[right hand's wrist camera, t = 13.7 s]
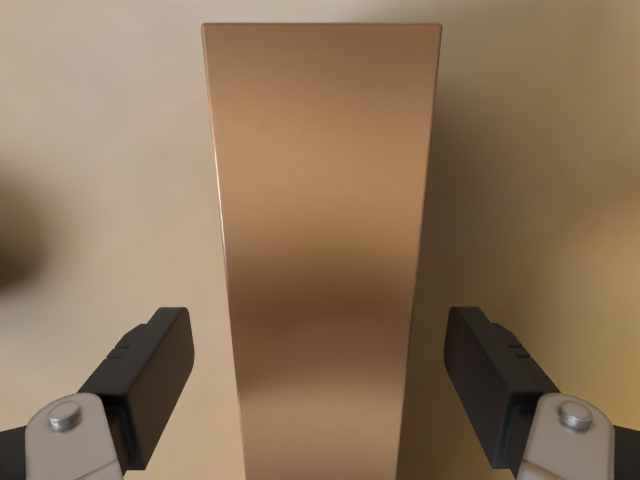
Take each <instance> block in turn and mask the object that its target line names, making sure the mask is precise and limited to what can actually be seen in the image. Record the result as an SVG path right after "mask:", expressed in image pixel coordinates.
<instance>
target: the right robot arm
mask: <svg viewBox="0 0 640 480" xmlns="http://www.w3.org/2000/svg"><path fill="white" fill-rule="evenodd" d="M444 362H445V367H446V370H447V372H448V375H449V377H450V379H451V381H452V383H453V385H454V387H455V390H456V392H457V394H458V396H459V398H460V400H461V402H462V405H463V407H464V409H465V411H466V413H467V415H468V417H469V420H470V422H471V424H472V426H473V428H474V430H475V432H476V435H477V437H478V439H479V441H480V443H481V445H482V447H483V450H484V452H485V454H486V456H487V458H488V460H489V462H490V465H491V467H492V469H511V471H512V473H513V475H514V477H515V479H516V480H640V431H636V430H632V429H628V428H624V427H619V426H615V425H613V424H612V423H611V421H610V420H609V419H608V417H607V416H606V415H605V414H604V413H603V412H602V411H600V410H599V409H598V408H597V407H595V406H594V405H592V404H590V403H589V402H587V401H585V400H583V399H580V398H578V397H575V396H572V395H568V394H564V393H561V392H560V391H559V390H558V388H557V387H556V386H555V385H554V383H553V382H552V381H551V380H550V379H549V377H548V376H547V375H546V374H545V372H544V371H543V370H542V369H541V368H540V366H539V365H538V364H537V363H536V361H535V360H534V359H533V358H531V355H530V354H529V353H528V352H527V351H526V349H525V348H523V347H522V344H521V343H520V342H519V341H518V340H517V338H516V337H515V336H514V335H513V333H511V332H510V331H508V330H507V329H505V328H504V327H502V326H501V325H499V324H498V323H490V321H489V320H488V319H487V317H486V316H485V315H484V313H483V312H482V311H481V309H480V308H479V307H451V309H450V311H449V316H448V323H447V330H446V337H445V344H444ZM193 364H194V344H193V337H192V330H191V324H190V317H189V312H188V309H187V308H186V307H161V308H159V309H158V310H157V311H156V312H155V314H154V315H153V316H152V318H151V319H150V320H149V321H148V323H147V324H140V325H138V326H137V327H135V328H134V329H132V330H131V331H129V332H128V333H126V334H125V335H124V336H123V337H122V339H121V340H120V341H119V342H118V343H117V345H116V346H115V349H112V351H111V352H110V353H109V354H108V356H107V359H104V360H103V362H102V363H101V364H100V365H99V366H98V368H97V369H96V370H95V371H94V372H93V374H92V375H91V376H90V377H89V378H88V380H87V381H86V382H85V383H84V384H83V386H82V387H81V388H80V389H79V391H78V392H77V393H76V394H72V395H68V396H65V397H62V398H60V399H57V400H55V401H53V402H51V403H50V404H48V405H46V406H45V407H43V408H42V409H41V410H40V411H38V412H37V413H36V414H35V415H34V416H33V417H32V419H31V420H30V421H29V423H28V424H27V426H23V427H19V428H15V429H10V430H6V431H2V432H0V480H124V479H123V477H124V475H125V473H126V471H127V470H145V469H146V467H147V464H148V462H149V460H150V458H151V456H152V454H153V452H154V450H155V447H156V445H157V443H158V441H159V439H160V437H161V435H162V433H163V430H164V428H165V426H166V424H167V422H168V420H169V418H170V416H171V414H172V411H173V409H174V407H175V405H176V403H177V401H178V399H179V397H180V394H181V392H182V390H183V388H184V386H185V384H186V382H187V380H188V378H189V375H190V373H191V371H192V368H193Z"/></svg>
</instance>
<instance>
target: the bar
mask: <svg viewBox="0 0 640 480" xmlns="http://www.w3.org/2000/svg"><path fill="white" fill-rule="evenodd" d="M201 34H202V44H203V54H204V64H205V74H206V84H207V94H208V104H209V114H210V124H211V135H212V145H213V155H214V165H215V175H216V185H217V195H218V205H219V215H220V225H221V235H222V245H223V255H224V265H225V275H226V285H227V295H228V306H229V316H230V326H231V336H232V346H233V356H234V366H235V376H236V386H237V396H238V406H239V416H240V426H241V436H242V446H243V456H244V466H245V477H246V480H396V474H397V464H398V455H399V445H400V435H401V425H402V416H403V406H404V396H405V387H406V377H407V367H408V357H409V348H410V338H411V328H412V318H413V309H414V299H415V289H416V280H417V270H418V260H419V250H420V241H421V231H422V221H423V211H424V202H425V192H426V182H427V172H428V163H429V153H430V143H431V134H432V124H433V114H434V104H435V95H436V85H437V75H438V65H439V56H440V46H441V36H442V25H441V24H440V23H204V24H202V26H201Z"/></svg>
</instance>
